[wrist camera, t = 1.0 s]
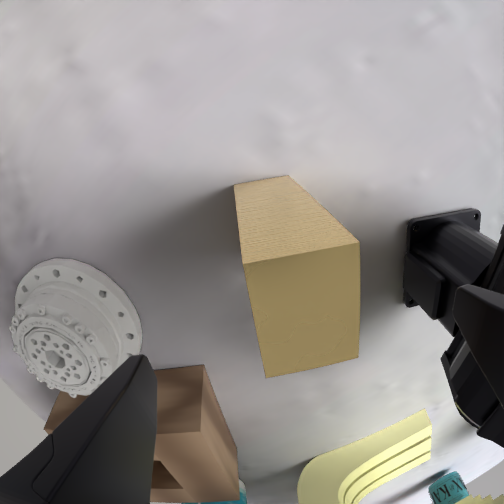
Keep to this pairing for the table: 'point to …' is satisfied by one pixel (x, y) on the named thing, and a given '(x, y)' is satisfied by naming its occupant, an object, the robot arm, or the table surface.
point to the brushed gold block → (298, 277)
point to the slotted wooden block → (182, 439)
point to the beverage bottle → (448, 489)
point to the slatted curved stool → (371, 464)
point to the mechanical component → (73, 325)
